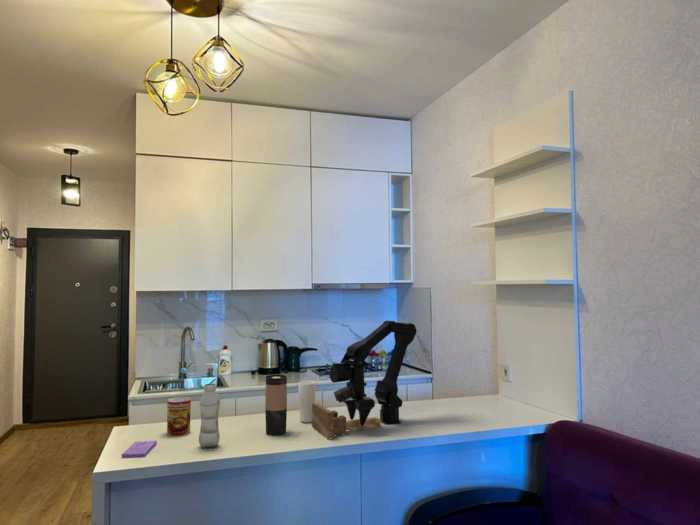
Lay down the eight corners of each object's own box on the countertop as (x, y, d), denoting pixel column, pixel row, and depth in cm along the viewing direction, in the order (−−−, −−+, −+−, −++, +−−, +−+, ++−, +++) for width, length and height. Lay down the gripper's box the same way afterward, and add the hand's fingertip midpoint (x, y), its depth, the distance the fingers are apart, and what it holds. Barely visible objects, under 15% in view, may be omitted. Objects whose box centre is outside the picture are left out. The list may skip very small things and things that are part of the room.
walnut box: (332, 425, 187) (332, 400, 187) (349, 436, 172) (348, 410, 173) (312, 427, 184) (312, 402, 184) (327, 439, 169) (327, 412, 170)
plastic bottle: (200, 443, 165) (201, 383, 166) (221, 443, 166) (222, 382, 167) (196, 449, 159) (197, 386, 160) (218, 449, 159) (218, 386, 160)
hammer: (374, 423, 189) (374, 410, 189) (382, 428, 183) (382, 414, 183) (327, 429, 181) (327, 415, 181) (334, 434, 175) (334, 420, 176)
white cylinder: (313, 424, 188) (313, 384, 189) (296, 423, 190) (296, 383, 191) (317, 419, 195) (317, 381, 196) (301, 418, 196) (301, 380, 197)
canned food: (166, 437, 173) (166, 402, 173) (168, 431, 180) (168, 397, 181) (189, 435, 175) (190, 400, 175) (190, 429, 182) (191, 396, 183)
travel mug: (290, 430, 180) (290, 375, 181) (280, 436, 172) (280, 378, 173) (271, 428, 182) (271, 374, 183) (261, 434, 175) (261, 377, 176)
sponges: (156, 446, 165) (156, 440, 165) (145, 458, 152) (145, 452, 152) (134, 446, 164) (135, 441, 164) (121, 459, 151) (121, 453, 151)
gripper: (327, 377, 189) (327, 418, 188) (346, 385, 171) (346, 431, 171) (354, 375, 193) (354, 415, 192) (375, 383, 176) (375, 427, 175)
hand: (356, 422), depth 182 cm, fingers open, 9 cm apart
